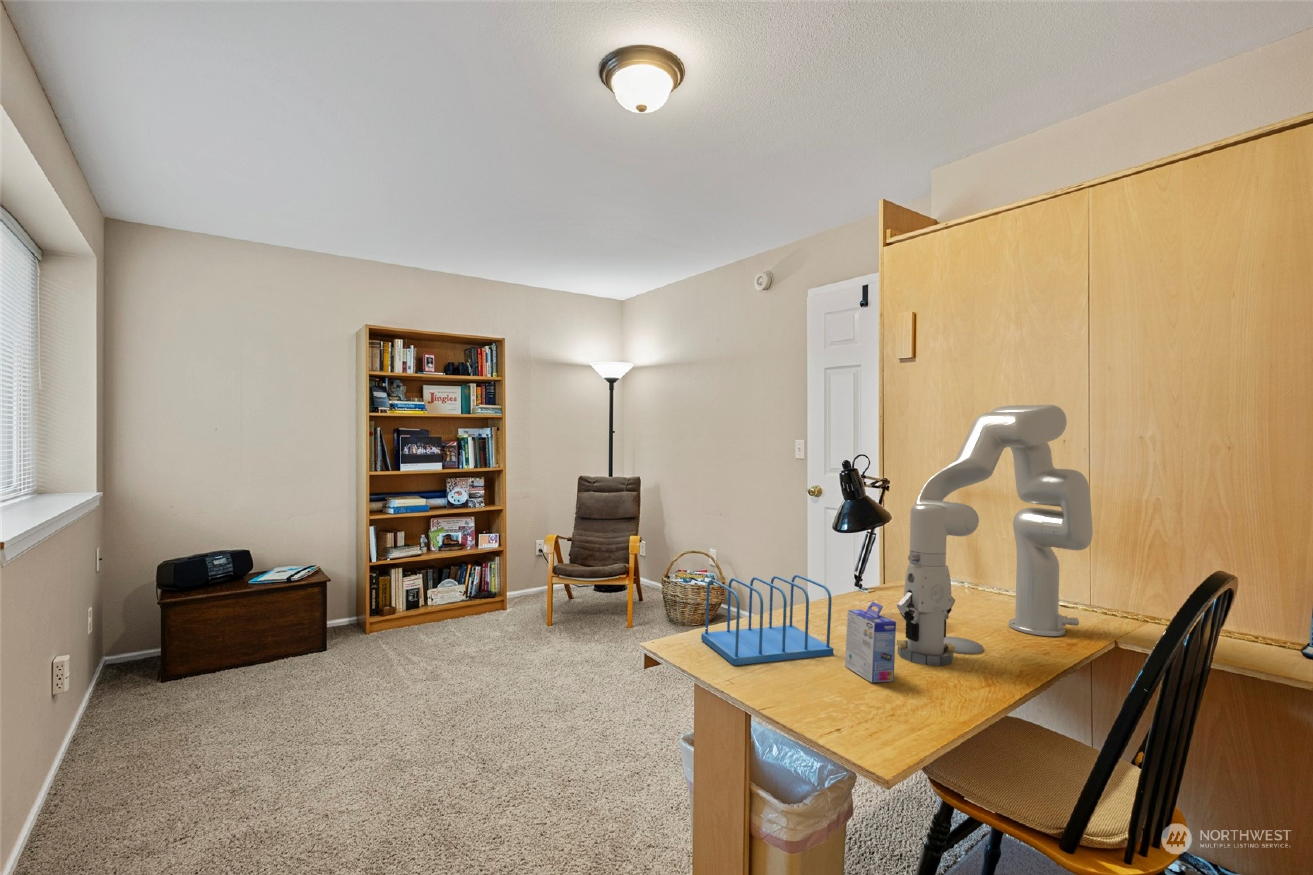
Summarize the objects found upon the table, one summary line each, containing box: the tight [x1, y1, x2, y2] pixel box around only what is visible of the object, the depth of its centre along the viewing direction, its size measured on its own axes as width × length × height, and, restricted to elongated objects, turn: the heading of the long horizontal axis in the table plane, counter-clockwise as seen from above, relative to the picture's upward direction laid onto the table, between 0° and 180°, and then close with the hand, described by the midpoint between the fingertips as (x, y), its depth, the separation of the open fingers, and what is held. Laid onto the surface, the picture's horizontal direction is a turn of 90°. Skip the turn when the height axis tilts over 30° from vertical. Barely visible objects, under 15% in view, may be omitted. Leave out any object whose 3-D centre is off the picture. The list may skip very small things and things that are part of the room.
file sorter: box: [700, 574, 834, 666], centre depth 143 cm, size 25×17×15 cm
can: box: [907, 607, 945, 655], centre depth 139 cm, size 8×8×12 cm
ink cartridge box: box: [844, 601, 897, 684], centre depth 128 cm, size 10×6×14 cm, turn 16°
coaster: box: [944, 635, 984, 655], centre depth 147 cm, size 11×11×1 cm
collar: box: [896, 639, 955, 667], centre depth 139 cm, size 12×11×3 cm
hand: (925, 637), depth 139 cm, fingers closed on can, 7 cm apart
